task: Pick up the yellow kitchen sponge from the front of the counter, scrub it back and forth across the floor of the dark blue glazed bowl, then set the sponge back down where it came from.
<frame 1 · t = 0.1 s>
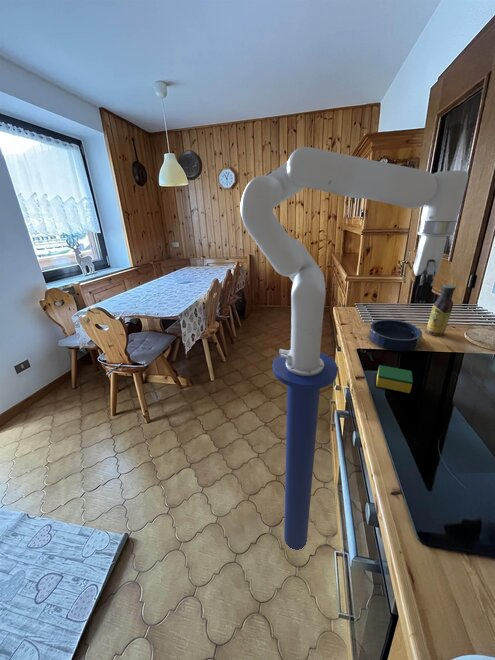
hand: (420, 294, 77), 27 cm above the counter, tool pointing down, fingers open, 9 cm apart
sauce bottle: (434, 333, 113), on the counter
bowl: (393, 340, 109), on the counter
sponge: (392, 384, 86), on the counter
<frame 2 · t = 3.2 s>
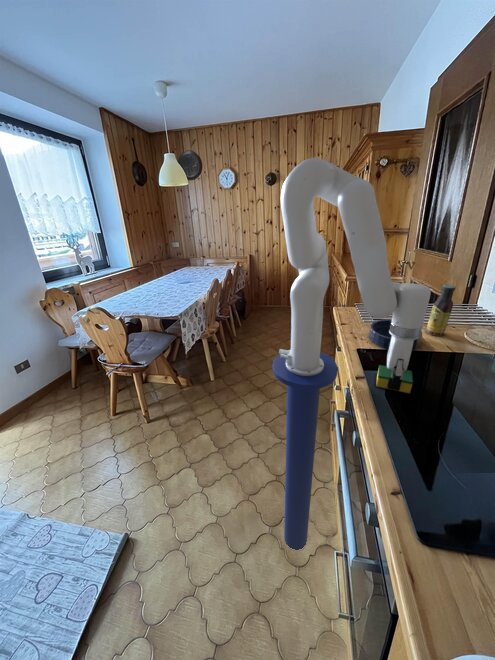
hand: (393, 381, 85), 1 cm above the counter, tool pointing down, fingers closed on sponge, 6 cm apart
sponge: (392, 384, 86), on the counter, touching gripper
everything else where it was.
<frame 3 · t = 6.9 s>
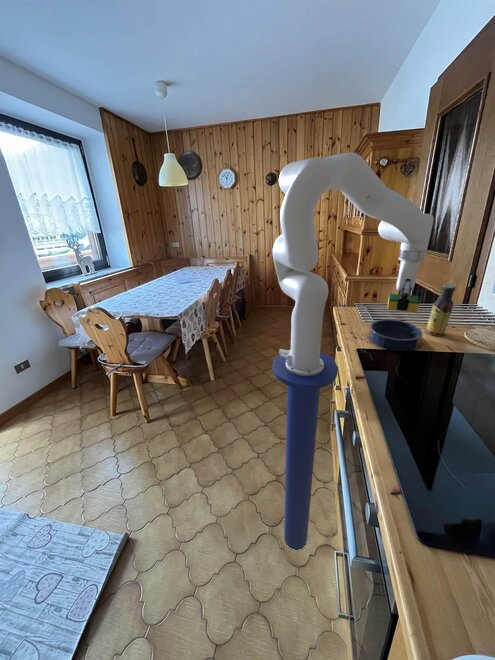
hand: (401, 305, 100), 16 cm above the counter, tool pointing down, fingers closed on sponge, 6 cm apart
sponge: (401, 308, 100), point 15 cm above the counter, touching gripper
everything else where it was.
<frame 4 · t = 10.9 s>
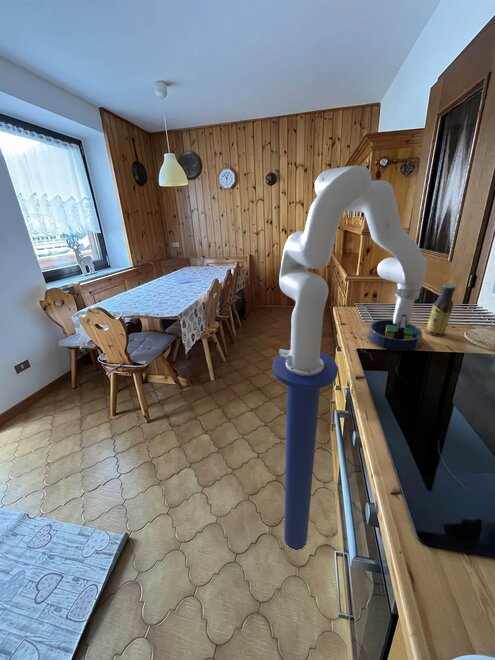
hand: (397, 336, 107), 2 cm above the counter, tool pointing down, fingers closed on sponge, 6 cm apart
sponge: (397, 338, 108), point 1 cm above the counter, touching gripper
everything else where it was.
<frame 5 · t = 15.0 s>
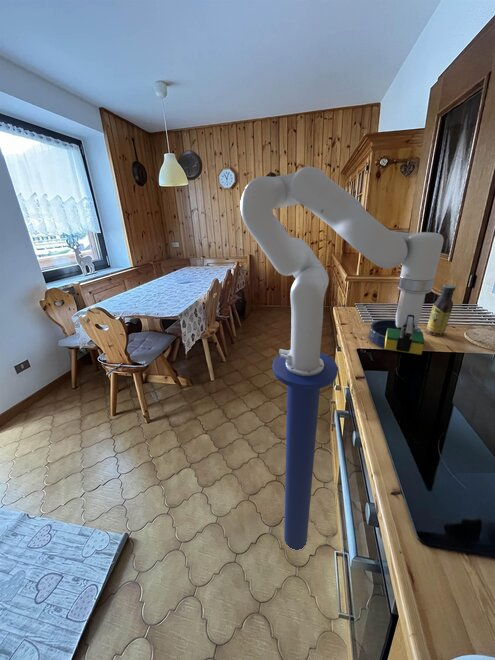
hand: (402, 344, 80), 14 cm above the counter, tool pointing down, fingers closed on sponge, 6 cm apart
sponge: (402, 346, 80), point 13 cm above the counter, touching gripper
everything else where it was.
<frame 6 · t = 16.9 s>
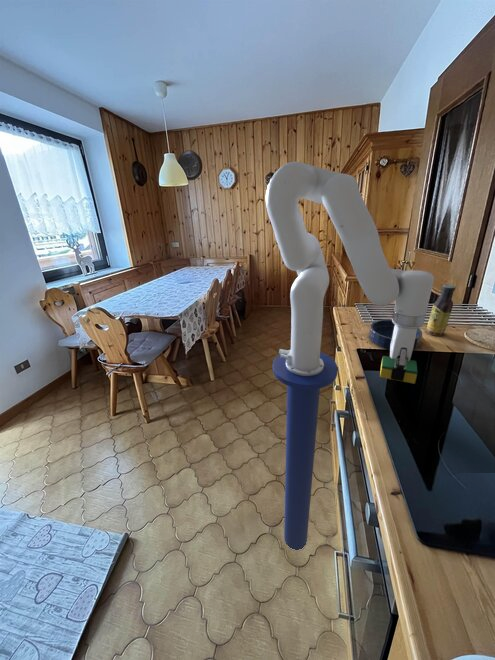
hand: (396, 372, 84), 4 cm above the counter, tool pointing down, fingers closed on sponge, 6 cm apart
sponge: (396, 374, 84), point 4 cm above the counter, touching gripper
everything else where it was.
when the fingers open (1 cm above the counter, at t = 18.4 s): sponge stays where it is, on the counter.
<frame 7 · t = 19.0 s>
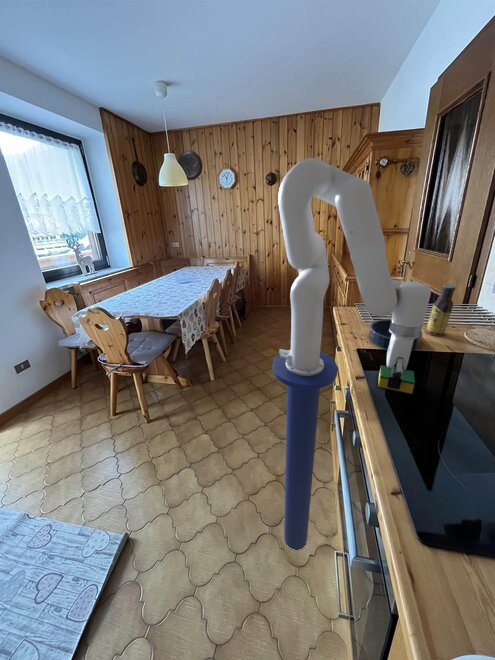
hand: (393, 378, 85), 2 cm above the counter, tool pointing down, fingers open, 9 cm apart
sponge: (394, 384, 85), on the counter
everything else where it was.
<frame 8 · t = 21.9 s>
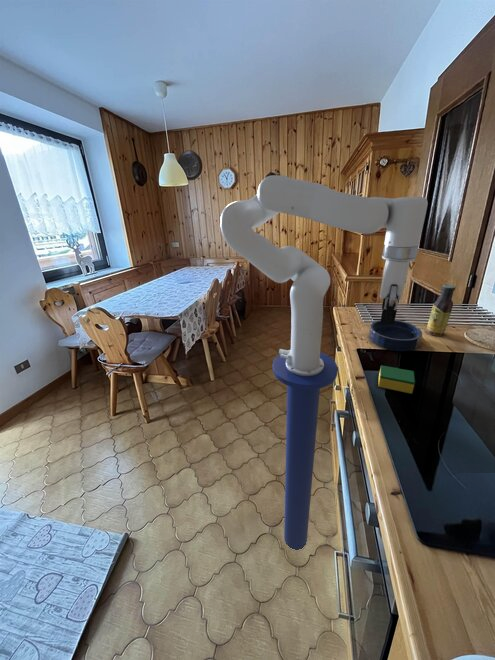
hand: (387, 316, 77), 22 cm above the counter, tool pointing down, fingers open, 9 cm apart
nothing on the counter moved.
at the end: sponge inside the target area on the counter beside the bowl (0.5 cm from its centre), on the counter; the gripper is holding nothing; sponge tilted 0° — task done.
